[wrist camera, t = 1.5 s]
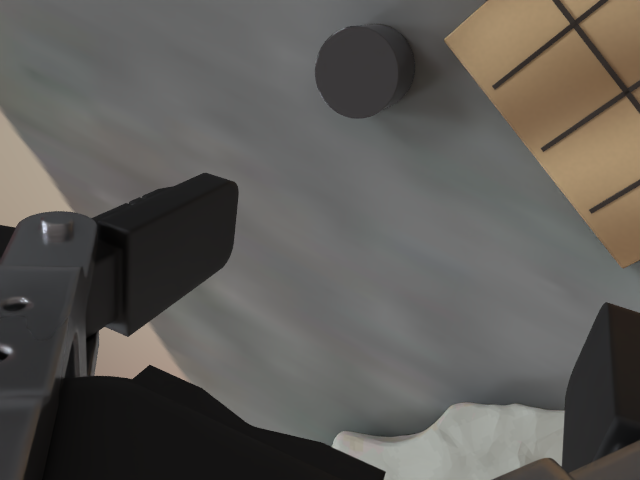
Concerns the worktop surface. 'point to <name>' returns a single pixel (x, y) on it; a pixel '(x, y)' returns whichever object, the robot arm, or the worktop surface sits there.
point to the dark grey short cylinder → (364, 69)
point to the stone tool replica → (464, 443)
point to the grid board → (569, 99)
